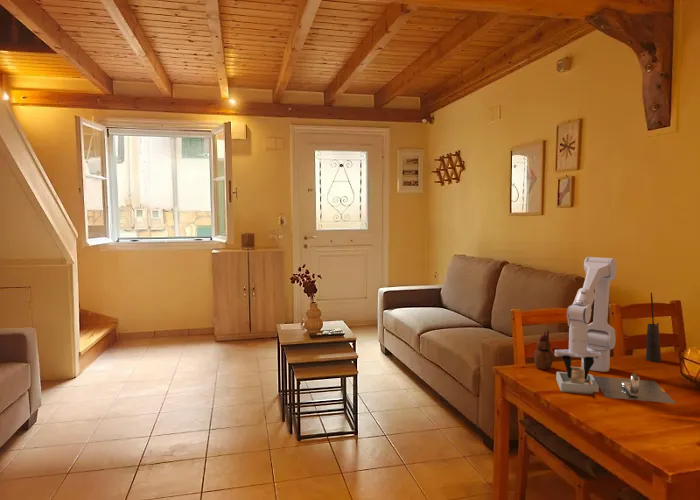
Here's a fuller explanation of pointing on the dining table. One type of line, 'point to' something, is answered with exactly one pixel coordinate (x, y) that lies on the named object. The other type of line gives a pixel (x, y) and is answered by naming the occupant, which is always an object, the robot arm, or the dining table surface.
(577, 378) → the block
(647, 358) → the butter churn
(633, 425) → the dining table surface
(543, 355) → the wooden figurine
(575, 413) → the dining table surface
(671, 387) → the dining table surface
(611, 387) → the base plate
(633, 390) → the crank
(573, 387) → the tray
